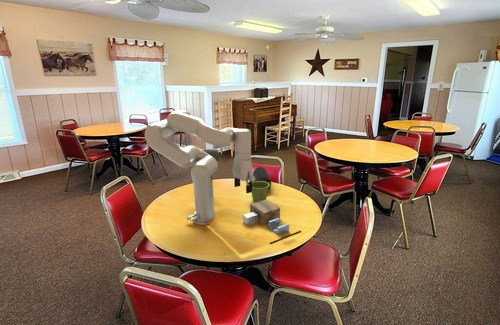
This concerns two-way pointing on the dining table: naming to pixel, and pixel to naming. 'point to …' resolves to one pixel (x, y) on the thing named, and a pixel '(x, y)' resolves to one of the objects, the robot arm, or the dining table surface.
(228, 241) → the dining table surface
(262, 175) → the portable speaker
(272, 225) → the v-block
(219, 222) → the dining table surface
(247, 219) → the rectangular steel bar
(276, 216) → the slotted wooden block
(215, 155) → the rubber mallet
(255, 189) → the plant pot
